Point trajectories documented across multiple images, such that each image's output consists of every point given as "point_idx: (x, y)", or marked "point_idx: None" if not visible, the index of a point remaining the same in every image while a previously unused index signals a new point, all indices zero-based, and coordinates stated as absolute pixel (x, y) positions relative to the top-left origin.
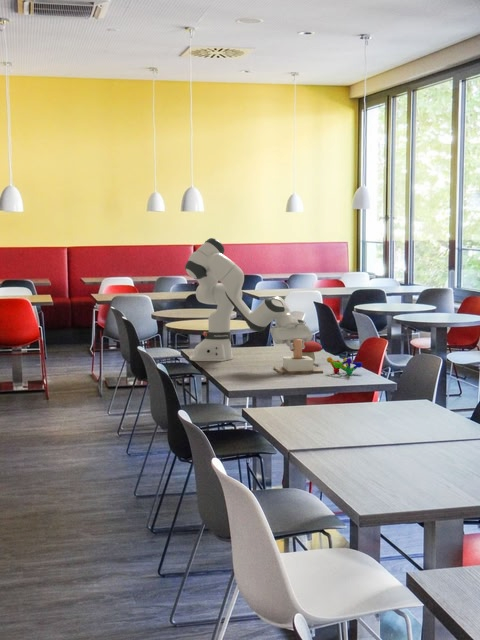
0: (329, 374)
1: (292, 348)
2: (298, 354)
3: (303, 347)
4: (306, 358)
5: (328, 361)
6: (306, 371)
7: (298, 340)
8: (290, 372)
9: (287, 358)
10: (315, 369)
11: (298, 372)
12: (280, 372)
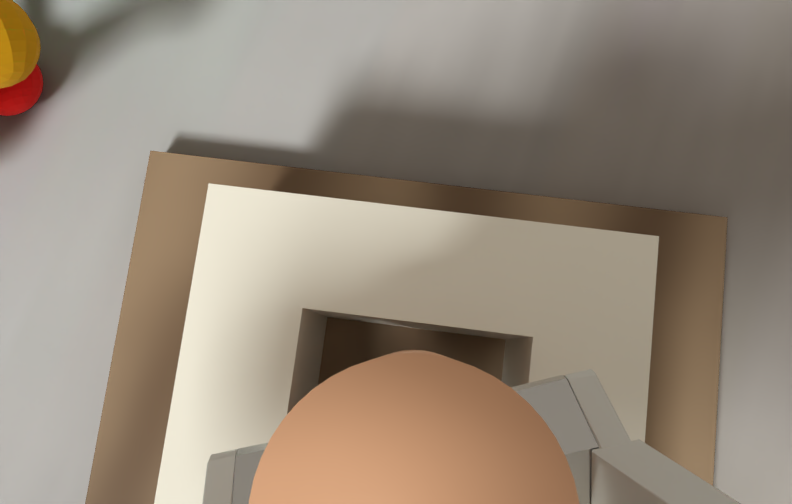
0: (133, 42)
1: (588, 374)
2: (427, 351)
3: (259, 444)
4: (267, 362)
5: (32, 26)
6: (371, 177)
7: (438, 359)
8: (587, 202)
9: None
10: None
11: (479, 190)
12: (724, 223)
